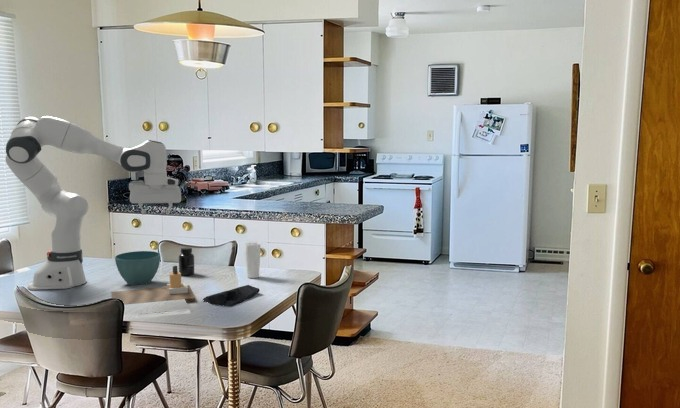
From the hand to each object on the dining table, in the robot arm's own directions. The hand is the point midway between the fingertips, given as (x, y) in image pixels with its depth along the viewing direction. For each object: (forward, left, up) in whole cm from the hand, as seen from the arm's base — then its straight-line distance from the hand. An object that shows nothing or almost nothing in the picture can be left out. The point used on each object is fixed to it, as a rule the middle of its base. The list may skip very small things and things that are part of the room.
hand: (155, 214), depth 255 cm
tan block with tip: (+6, -15, -29) cm, 33 cm away
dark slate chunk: (+26, -27, -31) cm, 49 cm away
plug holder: (+6, -15, -29) cm, 33 cm away
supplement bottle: (+14, +18, -31) cm, 38 cm away
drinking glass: (+41, +3, -31) cm, 51 cm away
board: (-3, -18, -31) cm, 35 cm away
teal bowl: (-7, +8, -31) cm, 33 cm away
